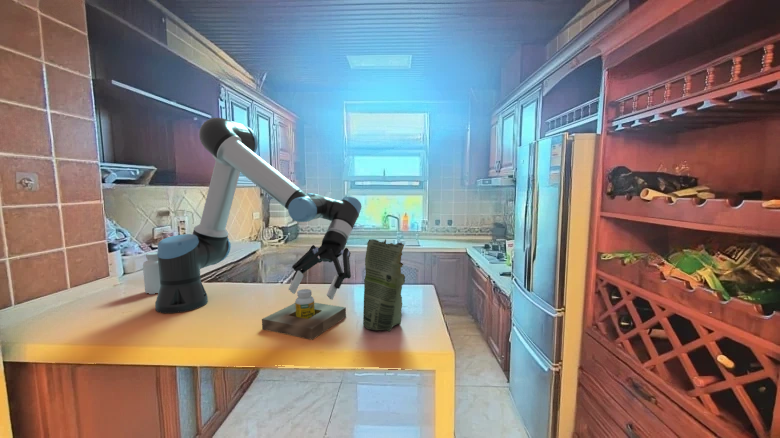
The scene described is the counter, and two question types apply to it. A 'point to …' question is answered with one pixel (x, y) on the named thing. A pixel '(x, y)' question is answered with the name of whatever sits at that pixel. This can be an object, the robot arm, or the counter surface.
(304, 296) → the supplement bottle
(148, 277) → the pill bottle
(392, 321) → the pouch
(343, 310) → the frame
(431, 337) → the counter surface
